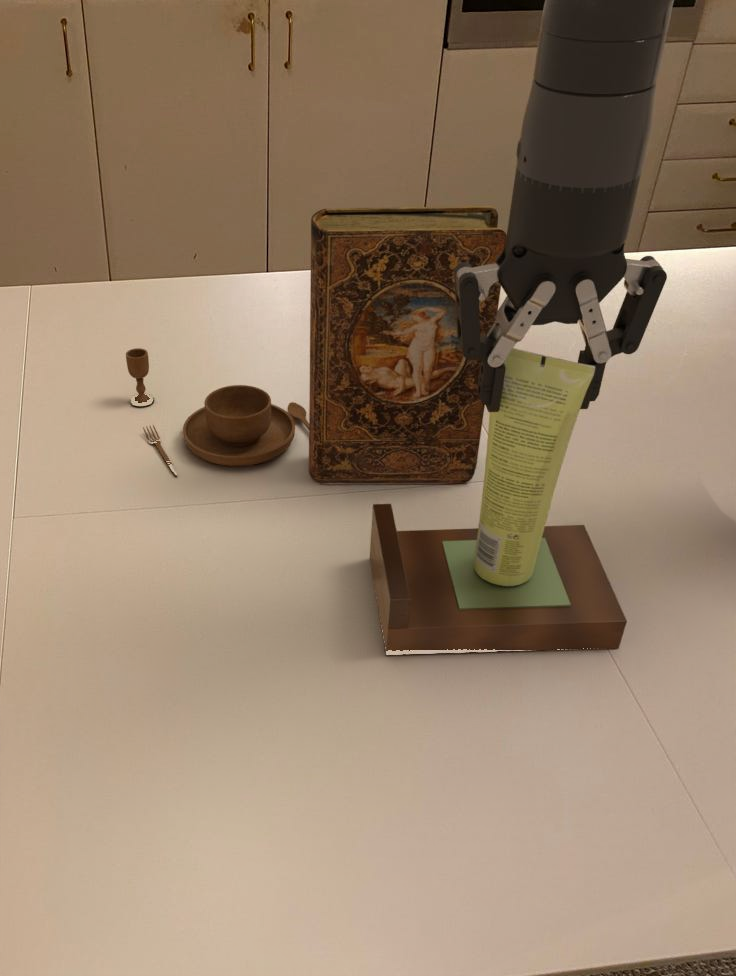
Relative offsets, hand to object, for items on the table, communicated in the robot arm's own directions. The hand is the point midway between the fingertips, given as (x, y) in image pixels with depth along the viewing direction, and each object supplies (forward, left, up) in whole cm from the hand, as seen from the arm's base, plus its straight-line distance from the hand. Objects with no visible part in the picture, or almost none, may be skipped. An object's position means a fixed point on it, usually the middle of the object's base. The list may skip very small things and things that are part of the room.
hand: (535, 404), depth 72 cm
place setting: (+24, -31, -19) cm, 44 cm away
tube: (0, 0, -16) cm, 16 cm away
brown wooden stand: (+1, 0, -19) cm, 19 cm away
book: (+7, -21, -19) cm, 29 cm away
